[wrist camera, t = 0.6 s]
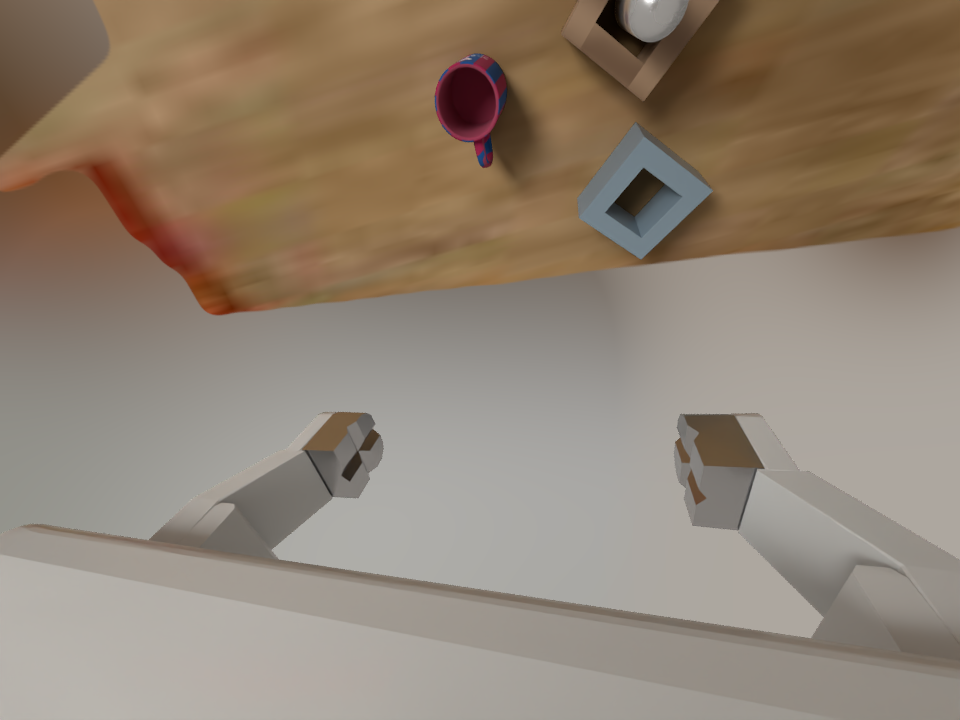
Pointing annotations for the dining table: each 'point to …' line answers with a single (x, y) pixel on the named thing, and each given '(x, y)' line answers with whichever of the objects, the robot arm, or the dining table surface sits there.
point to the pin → (649, 17)
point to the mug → (472, 102)
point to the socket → (660, 211)
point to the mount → (617, 59)
